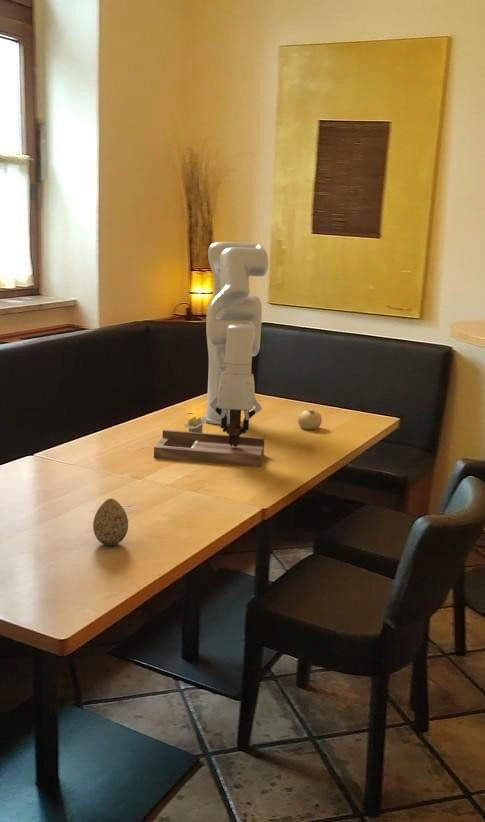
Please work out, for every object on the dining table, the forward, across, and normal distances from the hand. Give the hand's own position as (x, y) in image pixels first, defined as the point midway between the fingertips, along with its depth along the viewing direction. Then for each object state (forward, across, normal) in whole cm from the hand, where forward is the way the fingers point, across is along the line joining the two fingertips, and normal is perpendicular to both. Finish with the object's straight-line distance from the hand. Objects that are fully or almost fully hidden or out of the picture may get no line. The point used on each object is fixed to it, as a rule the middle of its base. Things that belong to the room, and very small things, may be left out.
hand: (234, 430), depth 230 cm
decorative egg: (+8, -17, -68) cm, 71 cm away
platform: (+9, -14, +18) cm, 25 cm away
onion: (+9, +20, +41) cm, 46 cm away
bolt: (+4, 0, 0) cm, 4 cm away
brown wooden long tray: (+8, -7, 0) cm, 11 cm away
